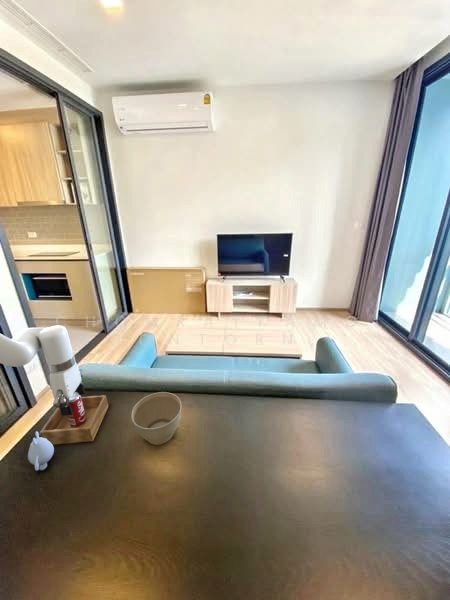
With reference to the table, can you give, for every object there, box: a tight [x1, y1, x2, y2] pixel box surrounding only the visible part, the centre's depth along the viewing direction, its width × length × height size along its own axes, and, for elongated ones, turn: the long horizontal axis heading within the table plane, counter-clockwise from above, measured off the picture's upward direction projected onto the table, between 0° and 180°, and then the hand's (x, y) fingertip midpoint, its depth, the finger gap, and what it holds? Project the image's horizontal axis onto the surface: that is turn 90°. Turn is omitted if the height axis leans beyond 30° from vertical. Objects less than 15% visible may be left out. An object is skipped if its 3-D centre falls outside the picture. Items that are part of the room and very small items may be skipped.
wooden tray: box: [39, 394, 109, 446], centre depth 90 cm, size 16×16×6 cm
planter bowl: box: [130, 391, 182, 446], centre depth 85 cm, size 16×16×11 cm
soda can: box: [63, 392, 87, 428], centre depth 88 cm, size 5×5×12 cm
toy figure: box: [27, 431, 55, 472], centre depth 74 cm, size 11×6×12 cm, turn 21°
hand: (74, 403), depth 87 cm, fingers open, 9 cm apart
